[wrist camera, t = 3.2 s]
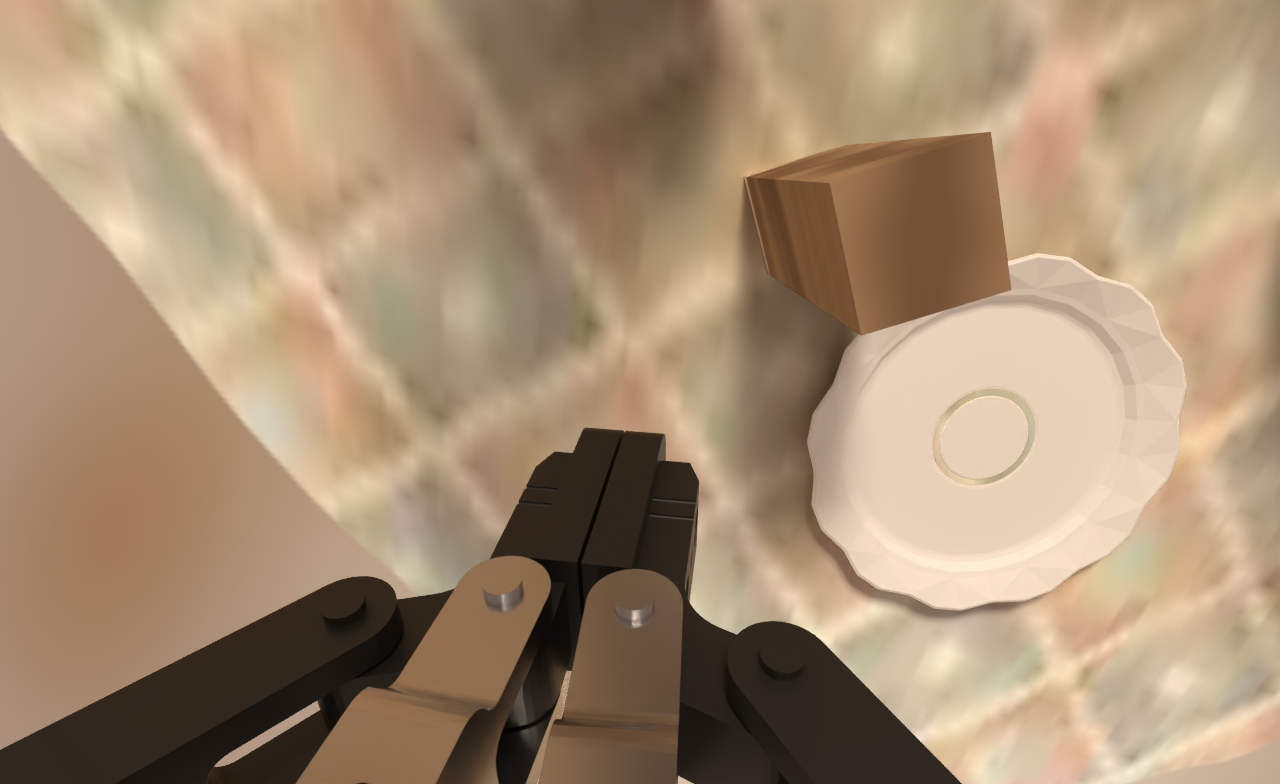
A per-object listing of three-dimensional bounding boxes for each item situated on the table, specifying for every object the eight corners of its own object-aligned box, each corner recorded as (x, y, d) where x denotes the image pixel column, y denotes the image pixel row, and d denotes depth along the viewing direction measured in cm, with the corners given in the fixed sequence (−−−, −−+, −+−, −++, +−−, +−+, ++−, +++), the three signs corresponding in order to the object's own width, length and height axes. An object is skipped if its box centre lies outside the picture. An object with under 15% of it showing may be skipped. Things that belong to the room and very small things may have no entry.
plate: (813, 615, 43) (821, 632, 41) (788, 284, 36) (797, 289, 35) (1145, 566, 43) (1165, 581, 41) (1180, 225, 36) (1206, 228, 35)
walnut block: (767, 272, 36) (861, 335, 22) (743, 176, 34) (829, 183, 21) (860, 244, 36) (1011, 289, 22) (841, 145, 34) (990, 132, 21)
